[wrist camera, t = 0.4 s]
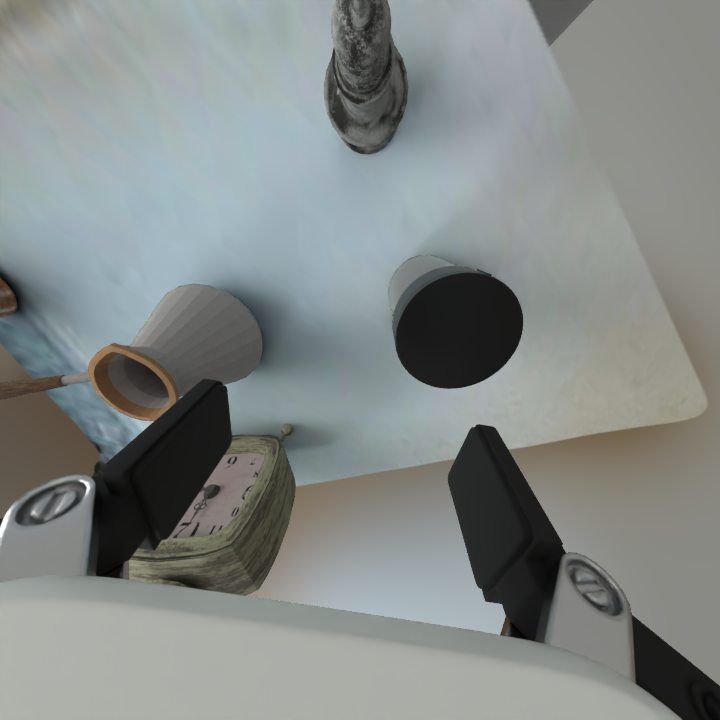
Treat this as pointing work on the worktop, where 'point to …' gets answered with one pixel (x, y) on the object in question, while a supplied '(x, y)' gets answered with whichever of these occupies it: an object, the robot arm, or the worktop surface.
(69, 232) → the worktop surface
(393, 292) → the jar
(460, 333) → the jar lid
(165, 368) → the coffee pot
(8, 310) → the sauce bottle
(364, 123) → the grey stepped cylinder
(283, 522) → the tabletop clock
